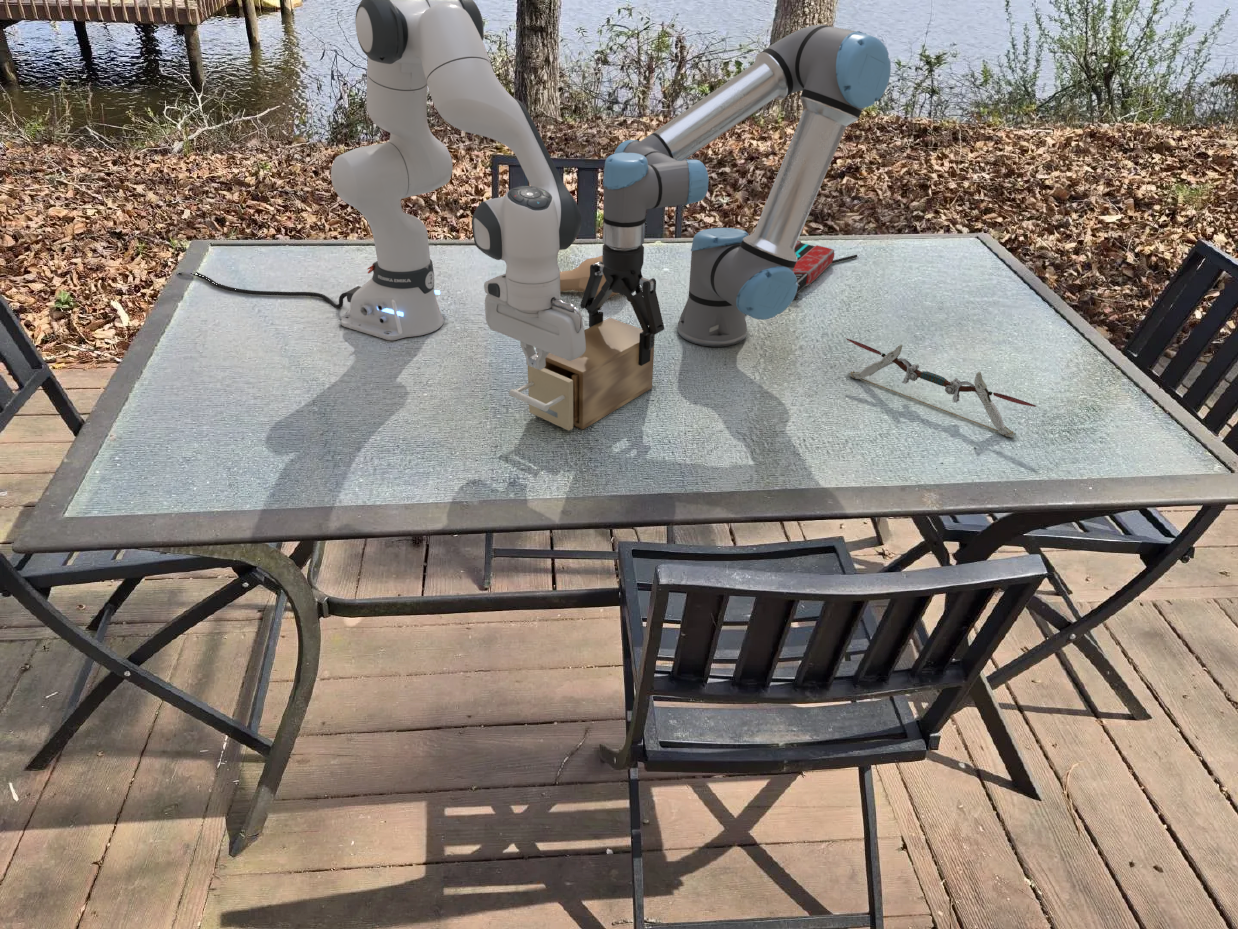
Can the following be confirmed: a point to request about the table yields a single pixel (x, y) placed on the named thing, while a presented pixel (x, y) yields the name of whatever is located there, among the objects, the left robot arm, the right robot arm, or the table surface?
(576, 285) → the squash
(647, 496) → the table surface
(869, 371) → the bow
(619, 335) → the cabinet
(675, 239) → the table surface
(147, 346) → the table surface
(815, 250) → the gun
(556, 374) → the drawer
